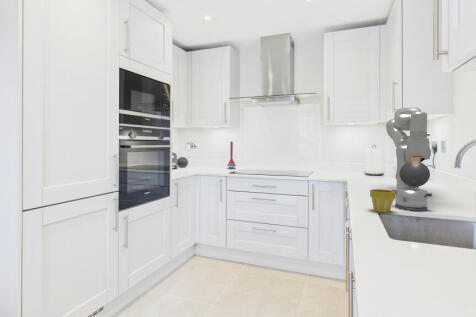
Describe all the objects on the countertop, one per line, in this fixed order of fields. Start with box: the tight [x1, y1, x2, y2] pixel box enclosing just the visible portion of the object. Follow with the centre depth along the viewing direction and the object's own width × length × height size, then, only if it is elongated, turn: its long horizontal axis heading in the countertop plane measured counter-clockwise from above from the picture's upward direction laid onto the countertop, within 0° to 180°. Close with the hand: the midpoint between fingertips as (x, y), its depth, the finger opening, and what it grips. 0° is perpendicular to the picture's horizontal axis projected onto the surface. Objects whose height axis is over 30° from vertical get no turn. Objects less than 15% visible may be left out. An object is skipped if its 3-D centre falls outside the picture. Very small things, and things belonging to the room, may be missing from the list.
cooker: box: [390, 187, 433, 212], centre depth 132 cm, size 14×17×9 cm
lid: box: [400, 158, 431, 189], centre depth 137 cm, size 16×13×1 cm
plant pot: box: [369, 188, 396, 214], centre depth 126 cm, size 10×10×10 cm
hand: (417, 170), depth 142 cm, fingers closed
